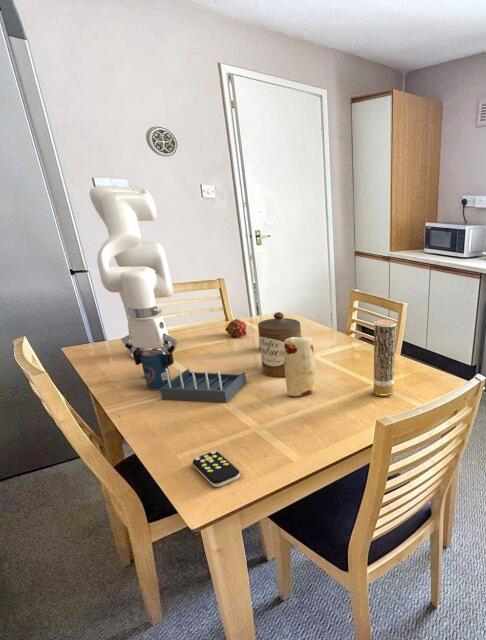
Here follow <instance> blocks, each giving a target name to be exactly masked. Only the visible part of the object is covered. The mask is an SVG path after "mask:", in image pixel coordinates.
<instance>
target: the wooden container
mask: <svg viewBox="0 0 486 640" xmlns="http://www.w3.org/2000/svg"><path fill="white" fill-rule="evenodd" d="M284 315H285V314H284V313H282V312H281V311H277V312H275V313H274V314H273V318H269V319H265V320H261V321H259V322H258V324H257V329H258V330H257V331H258V337H259V336H260V343H259V344H260V345H259V349H260V348H261V349H260V357H261V365H262V366H261V367H262V371H263V373H264V374H265V375H267V376H269V377H275V378H285V366H284V342H285V340H286V339H288V338H291V337H302V329H301V328H302V327H301V322H300V321H299V320H297V319H294V318H287V317H285V316H284Z"/></svg>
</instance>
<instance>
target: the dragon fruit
mask: <svg viewBox="0 0 486 640" xmlns="http://www.w3.org/2000/svg"><path fill="white" fill-rule="evenodd" d="M225 332H227V334H228V335H229V336H231V337H235V338H241V337H242V336H246V335H247V324H246V322H245V321H243V320H242V321H241V319H238V318H235V319H234V320H231V321H229V323H228V324H227V325H226V327H225Z"/></svg>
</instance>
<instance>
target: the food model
mask: <svg viewBox="0 0 486 640" xmlns="http://www.w3.org/2000/svg"><path fill="white" fill-rule="evenodd" d="M284 366H285V377H284V378H285V384H286V394H287V396H292V397H300V396H306V395H307V396H308V395H311V394H312V393H313V391H314V387H315V378H316V376H315V375H316V363H315V352H314V345H313V339H312V337H310V336H301V337H291V338H288V339H286V340H285V342H284Z"/></svg>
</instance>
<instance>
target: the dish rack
mask: <svg viewBox="0 0 486 640" xmlns="http://www.w3.org/2000/svg"><path fill="white" fill-rule="evenodd" d="M168 369H169V368H168ZM168 369H165V370H166V375H167V379H168V383H167V384H165V385H164V386H163V387H161V388H160V390H159V391H160V395H161V399H162V400H168V401H169V400H171V401H188V402H206V403H207V402H209V403H228V402H229V401H230V400H231V398H233V397H234V395H236V393H237V392H238V391H239V390H240V389H241V388H242V387H243V386H244V385H246V383H247V377H246V372H245V371H242V372H241V373H240V374H235V373H221V372H220V370H218V371H217V372H216V373H215V372H214V373H213V372H208V371H207V370H204V372H199V371H197V372H196V371H195V370H194V369H191V371H190V369H189V368H186V369H185V370H184V371H182V369H181V368H179V369H178V375H177V376H175V377H174V378H172V379H171V381H170V378H171V377H170V378H169V374H170V372H169V373H168Z"/></svg>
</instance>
